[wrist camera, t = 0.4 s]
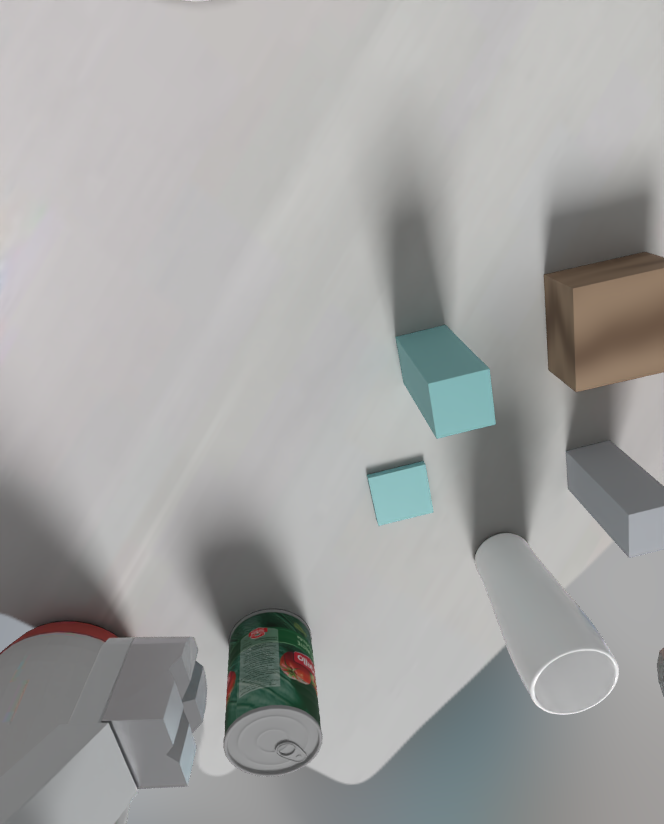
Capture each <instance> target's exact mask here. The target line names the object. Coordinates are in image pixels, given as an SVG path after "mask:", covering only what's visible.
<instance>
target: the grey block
mask: <svg viewBox="0 0 664 824" xmlns="http://www.w3.org/2000/svg"><path fill="white" fill-rule="evenodd" d="M566 462H567V479H568V489H569V491H570V492H571V493H572V494H573V495H574V496H575V497H576V498H577V500H578V501H579V502H580V503H581V504H582V505H583V506H584V508H585V509H586V510H587V511H588V512H589V513H590V514H591V515H592V517H593V518H594V519H595V520H596V521H597V522H598V523H599V525H600V526H601V527H602V528H603V529H604V530H605V531H606V532H607V534H608V535H609V536H610V537H611V538H612V539H613V540H614V541H615V543H616V544H617V545H618V546H619V547H620V548H621V549H622V550H623V552H624V553H625V554H626V555H627V556H628V557H629V558H631V557H635V556H638V555H642V554H646V553H651V552H655V551H659V550H663V549H664V486H663V485H662V484H660V483H659V482H658V481H657V480H656V479H655V478H653V477H652V476H651V475H650V474H649V473H648V472H646V471H645V470H644V469H643V468H642V467H641V466H639V465H638V464H637V463H636V462H635V461H634V460H632V459H631V458H630V457H629V456H628V455H627V454H625V453H624V452H623V451H622V450H621V449H620V448H618V447H617V446H616V445H615V444H614V443H613V442H611V441H610V440H609V441H605V442H601V443H597V444H593V445H589V446H585V447H581V448H576V449H572V450H568V451H566Z"/></svg>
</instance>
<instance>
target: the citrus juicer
mask: <svg viewBox="0 0 664 824" xmlns="http://www.w3.org/2000/svg"><path fill="white" fill-rule="evenodd" d="M109 638H118V637H117V636H116V635H114V634H113V633H111V632H109V631H107V630H105V629H103V628H101V627H98V626H94V625H91V624H87V623H81V622H64V621H63V622H55V623H49V624H45V625H42V626H39V627H36V628H34V629H32V630H30V631H28V632H26V633H25V634H24V635H22V636H21V637H20V638H18V639H17V640H16V641H14V642H13V643H12V644H10V645H9V646H8V647H7V648H5V649H4V650H3V651H2V652H1V653H0V777H1V776H2V775H3V774H5V773H6V772H7V771H8V770H9V769H10V768H11V767H12V766H13V765H15V764H16V763H17V762H18V761H19V760H20V759H21V758H22V757H23V756H25V755H26V754H27V753H28V752H29V751H30V750H31V749H32V748H33V747H35V746H36V745H37V744H38V743H39V742H40V741H41V740H42V739H43V738H45V737H46V736H47V735H48V734H49V733H50V732H51V731H52V730H53V729H55V728H56V727H57V726H58V725H59V724H68V722H69V720H70V718H71V715H72V713H73V711H74V709H75V706H76V704H77V702H78V699H79V697H80V695H81V692H82V690H83V688H84V686H85V683H86V681H87V679H88V676H89V674H90V672H91V669H92V667H93V665H94V663H95V660H96V658H97V656H98V653H99V651H100V649H101V647H102V645H103V644H104V643H105V642H106V641H107V640H108V639H109ZM130 803H131V802H130ZM129 808H130V804H129V805H128V806H127V808H126V809H125V810H124V812H123V813H122V814H121V815H120V817H119V818H118V819H117V821H116V822H115V823H114V824H126V823H127V819H128V813H129Z"/></svg>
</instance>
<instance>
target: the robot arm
mask: <svg viewBox="0 0 664 824" xmlns="http://www.w3.org/2000/svg"><path fill="white" fill-rule="evenodd" d="M184 1H207V0H184ZM197 653H198V647H197V644H196V641H195V639H194V637H132V638H109V639H108V640H107V641H106V642H105V643H104V644H103V645H102V647H101V649H100V651H99V653H98V656H97V658H96V660H95V663H94V665H93V667H92V669H91V672H90V674H89V676H88V679H87V681H86V683H85V686H84V688H83V690H82V692H81V695H80V697H79V699H78V702H77V704H76V706H75V709H74V711H73V713H72V715H71V718H70V720H69V722H68V724H59V725H58V726H57V727H56V728H55V729H53V730H52V731H51V732H50V733H49V734H48V735H47V736H46V737H45V738H43V739H42V740H41V741H40V742H39V743H38V744H37V745H36V746H35V747H33V748H32V749H31V750H30V751H29V752H28V753H27V754H26V755H25V756H23V757H22V758H21V759H20V760H19V761H18V762H17V763H16V764H15V765H13V766H12V767H11V768H10V769H9V770H8V771H7V772H6V773H5V774H3V775H2V776H1V777H0V824H114V823H115V822H116V821H117V819H118V818H119V817H120V815H121V814H122V813H123V812H124V810H125V809H126V808H127V806H128V805H129V804H130V802H131V801H132V800H133V799H134V797H135V796H136V795H137V793H138V789H146V788H165V787H185V786H188V782H189V779H190V774H191V770H192V766H193V761H194V757H195V753H196V749H197V746H196V744H195V740H194V737H193V734H192V733H193V732H194V731H195V730H196V729H197V728H198V727H199V726H200V724H201V723H202V722H203V718H204V713H205V708H206V697H207V683H206V675H205V671H204V668H203V666H202V665H200V664H199V663H198V662H196V657H197ZM657 671H658V680H659V684H660V687H661V690H662V693H663V696H664V648H663V649H662V650H661V651H660V652H659V657H658V663H657Z"/></svg>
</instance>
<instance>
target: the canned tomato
mask: <svg viewBox="0 0 664 824" xmlns="http://www.w3.org/2000/svg"><path fill="white" fill-rule="evenodd" d="M311 639H312V638H311V632H310V630H309V628H308V625H307V624H306V623H305V622H304V620H302V619H301V618H300V617H299V616H297V615H295V614H293V613H291V612H288V611H285V610H278V609H267V610H261V611H257V612H254V613H251V614H250V615H248V616H246V617H244V618H243V619H242V620H240V621H239V622H238V623H237V624H236V626H235V627H234V628H233V630H232V632H231V635H230V638H229V660H228V681H227V697H226V713H225V719H226V720H225V737H224V751H225V755H226V757H227V758H228V760H229V761H230V762H231V763H232V764H233V765H234V766H235V767H237V768H238V769H240V770H241V771H244V772H246V773H249V774H252V775H257V776H266V777H268V776H280V775H285V774H288V773H292V772H295V771H296V770H299V769H301V768H303V767H304V766H305V765H307V764H308V763H310V762H311V761H312V760H313V759H314V758H315V756H316V755H317V753H318V752H319V750H320V747H321V745H322V732H321V727H320V715H319V707H318V698H317V689H316V687H317V686H316V678H315V670H314V661H313V650H312V644H311Z"/></svg>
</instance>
